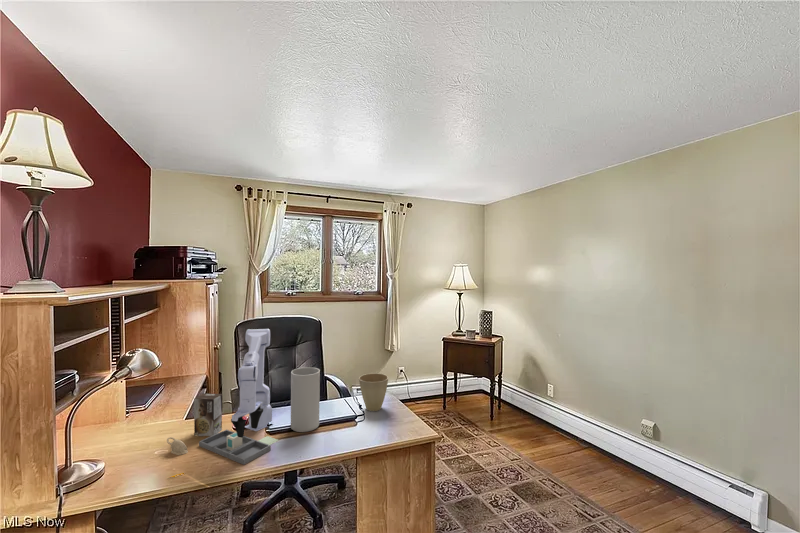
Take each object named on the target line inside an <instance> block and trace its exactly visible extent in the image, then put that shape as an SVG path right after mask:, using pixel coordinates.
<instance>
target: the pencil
mask: <svg viewBox="0 0 800 533" xmlns="http://www.w3.org/2000/svg"><path fill="white" fill-rule="evenodd" d="M181 474H184V472H181V473H178V474H175V475H171V476H169V477H168V478H171V477H174V478H176V477H175V476H177V475H181ZM184 475H185V474H184ZM181 476H182V475H181ZM177 477H178V476H177ZM171 479H172V478H171Z"/></svg>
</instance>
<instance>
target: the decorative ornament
mask: <svg viewBox="0 0 800 533" xmlns="http://www.w3.org/2000/svg"><path fill="white" fill-rule="evenodd" d="M170 439H171V440H173V441H172V442H171V441H169V440H170ZM166 442H167V443H168V444H169V445H170V449H171V451H170V454H173V455H176V456H180V455H184V454H187V453H189V451H188V447H187V445H186V444H185V442H183V441H182V440H181V439H176V438H174V437H172V436H171V437H170V436H169V437H168V438H166Z"/></svg>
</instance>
